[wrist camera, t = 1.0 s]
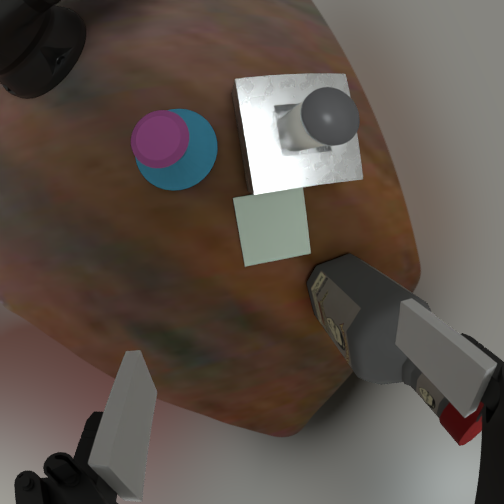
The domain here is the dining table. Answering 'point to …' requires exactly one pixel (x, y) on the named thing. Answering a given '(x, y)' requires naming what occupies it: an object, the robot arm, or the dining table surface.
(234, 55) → the dining table surface
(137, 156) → the perfume bottle
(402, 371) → the liquor
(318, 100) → the salt shaker
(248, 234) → the mat
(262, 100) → the housing
